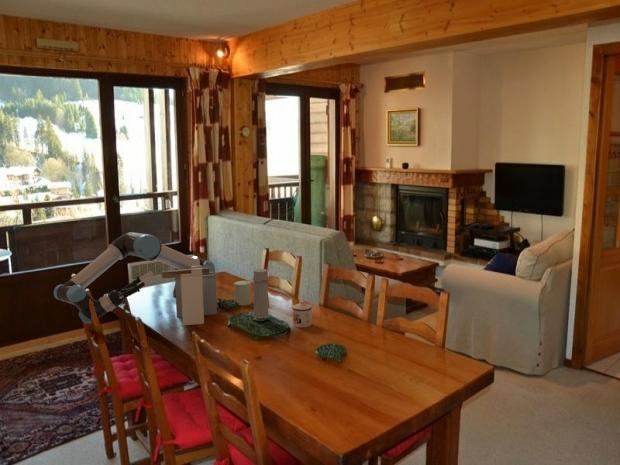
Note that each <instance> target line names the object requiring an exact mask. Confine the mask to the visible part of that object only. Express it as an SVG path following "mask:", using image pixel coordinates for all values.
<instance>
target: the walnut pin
mask: <svg viewBox="0 0 620 465" xmlns="http://www.w3.org/2000/svg"><path fill="white" fill-rule="evenodd" d="M193 269H194V268H193ZM189 273H191V269H181V270H175V269H171V270H170V269H169V270H161V278H162V279H164V280H165V279H175V278H176V277H181V274H189ZM202 275H209V268H208V267H205V268H202Z"/></svg>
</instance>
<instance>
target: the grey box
mask: <svg viewBox="0 0 620 465" xmlns="http://www.w3.org/2000/svg"><path fill="white" fill-rule="evenodd" d="M216 276H217V275H216V271H215V272H209V275H202V281H203V307H204V316H212V315H218V307H217V306H218V305H217V304H218V301H217V300H218V299H217V277H216ZM174 282H175V283H174V286H175V290H176V297H175V307H176V308H175V309H176V317H177V318H182V295H181V277H176V278H174Z"/></svg>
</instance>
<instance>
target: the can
mask: <svg viewBox="0 0 620 465" xmlns="http://www.w3.org/2000/svg"><path fill="white" fill-rule="evenodd" d="M233 284H234V285H233V286H234V287H233V288H234V290H233V291H234V302H235V301H236V302H237V303H239V305H238V306H239V307H240V306H242V307H243V306H248V305H249V306H250V305H251V304H252V290H251V289H252V283H251V281H249V280H239V281H238V280H237V281H235V282H234V283H233Z"/></svg>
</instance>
